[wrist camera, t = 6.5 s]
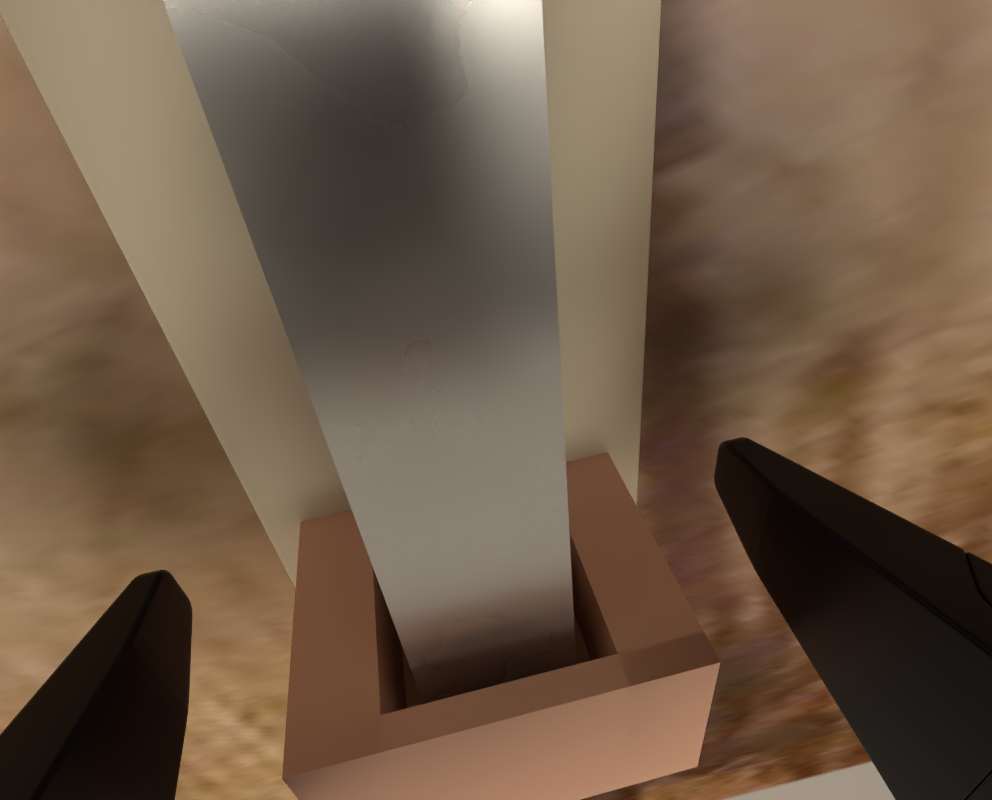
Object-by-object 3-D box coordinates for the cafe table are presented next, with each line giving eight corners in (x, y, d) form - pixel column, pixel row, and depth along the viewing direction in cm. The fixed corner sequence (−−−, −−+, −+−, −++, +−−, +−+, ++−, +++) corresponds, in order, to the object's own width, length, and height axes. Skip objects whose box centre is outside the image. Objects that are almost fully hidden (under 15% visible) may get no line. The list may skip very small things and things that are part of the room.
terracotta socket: (608, 452, 15) (719, 662, 10) (607, 561, 17) (697, 766, 13) (300, 522, 14) (282, 778, 10) (346, 624, 17) (349, 863, 12)
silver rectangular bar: (405, -722, 5) (470, -1388, 2) (540, 585, 15) (578, 702, 13) (1, -713, 4) (-378, -1455, 2) (421, 614, 15) (437, 740, 12)
